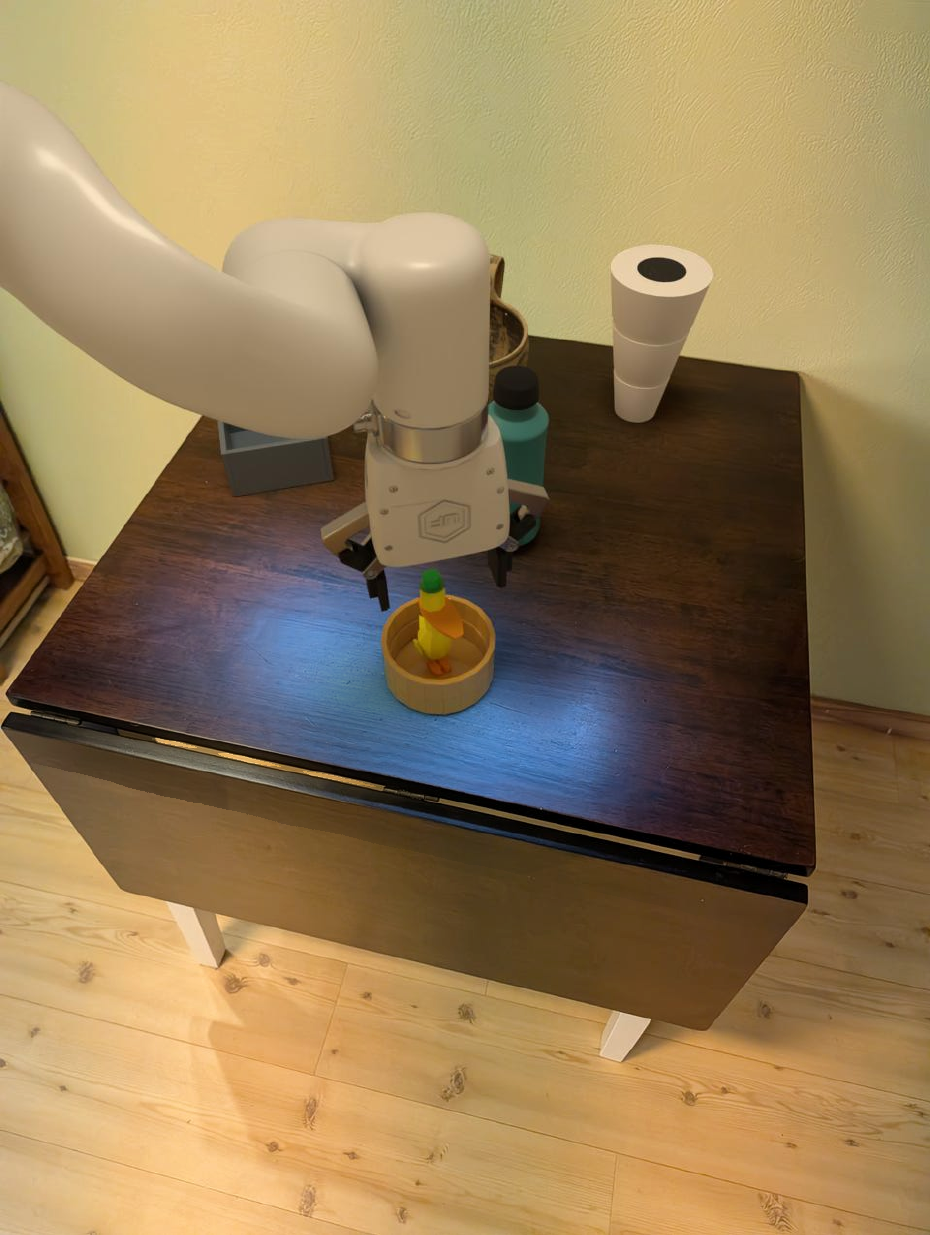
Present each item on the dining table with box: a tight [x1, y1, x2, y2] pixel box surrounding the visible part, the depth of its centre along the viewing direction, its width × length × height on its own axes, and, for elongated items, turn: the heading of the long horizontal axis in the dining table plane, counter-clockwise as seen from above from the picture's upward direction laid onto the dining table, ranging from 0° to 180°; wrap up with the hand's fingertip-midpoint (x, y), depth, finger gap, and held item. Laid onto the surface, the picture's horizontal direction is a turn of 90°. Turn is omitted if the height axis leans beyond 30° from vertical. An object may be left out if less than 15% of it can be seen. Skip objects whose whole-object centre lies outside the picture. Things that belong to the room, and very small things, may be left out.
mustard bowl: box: [380, 594, 496, 715], centre depth 76 cm, size 10×10×5 cm
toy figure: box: [413, 568, 464, 678], centre depth 73 cm, size 7×4×12 cm, turn 33°
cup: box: [610, 244, 714, 423], centre depth 96 cm, size 11×11×18 cm
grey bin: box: [216, 420, 335, 498], centre depth 95 cm, size 11×11×6 cm
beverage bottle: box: [488, 366, 550, 547], centre depth 81 cm, size 6×7×20 cm
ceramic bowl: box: [489, 253, 530, 404], centre depth 97 cm, size 22×17×15 cm
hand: (440, 586), depth 69 cm, fingers open, 9 cm apart
